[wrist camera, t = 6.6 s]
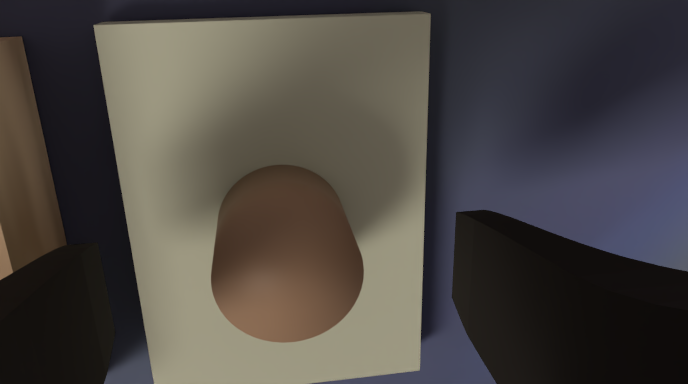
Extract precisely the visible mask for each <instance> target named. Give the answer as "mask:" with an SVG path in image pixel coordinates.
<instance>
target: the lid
mask: <svg viewBox="0 0 688 384" xmlns="http://www.w3.org/2000/svg"><path fill="white" fill-rule="evenodd" d="M430 23H431V14H430V13H426V12H421V11H416V12H386V13H356V14H326V15H296V16H266V17H236V18H206V19H176V20H146V21H116V22H101V23H98V24H95V25H93V26H94V32H95V38H96V44H97V50H98V56H99V61H100V67H101V73H102V79H103V85H104V91H105V97H106V103H107V109H108V115H109V120H110V126H111V132H112V138H113V144H114V150H115V156H116V162H117V168H118V174H119V179H120V185H121V191H122V197H123V203H124V209H125V215H126V221H127V227H128V233H129V238H130V244H131V250H132V256H133V262H134V268H135V274H136V280H137V286H138V292H139V297H140V303H141V309H142V315H143V321H144V327H145V333H146V339H147V345H148V350H149V356H150V362H151V368H152V374H153V380H154V384H309V383H317V382H326V381H334V380H343V379H351V378H359V377H368V376H376V375H385V374H393V373H402V372H410V371H419V370H420V344H421V312H422V280H423V248H424V216H425V183H426V151H427V119H428V87H429V55H430Z"/></svg>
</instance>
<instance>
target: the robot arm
mask: <svg viewBox="0 0 688 384" xmlns="http://www.w3.org/2000/svg"><path fill="white" fill-rule="evenodd" d="M452 299H453V301H454V304H455V306H456V309H457V311H458V314H459V316H460V319H461V321H462V323H463V326H464V328H465V330H466V333H467V335H468V337H469V338H470V340H471V342H472V344H473V345H474V347H475V349H476V350H477V352H478V354H479V355H480V357H481V359H482V360H483V362H484V364H485V365H486V367H487V369H488V370H489V372H490V373H491V375H492V377H493V378H494V380H495V382H496V383H497V384H688V272H687V271H682V270H677V269H672V268H667V267H662V266H658V265H654V264H650V263H646V262H642V261H638V260H634V259H630V258H626V257H622V256H619V255H615V254H612V253H609V252H606V251H603V250H599V249H596V248H593V247H590V246H587V245H584V244H581V243H578V242H575V241H573V240H570V239H567V238H564V237H561V236H559V235H556V234H553V233H551V232H548V231H545V230H543V229H540V228H538V227H535V226H532V225H530V224H527V223H525V222H522V221H519V220H517V219H514V218H511V217H508V216H505V215H502V214H499V213H496V212H492V211H488V210H477V211H465V212H456V226H455V246H454V267H453V287H452ZM114 337H115V328H114V323H113V318H112V313H111V308H110V303H109V298H108V293H107V288H106V282H105V277H104V272H103V267H102V262H101V257H100V252H99V247H98V243H86V244H74V245H64V246H62V247H59V248H57V249H54V250H52V251H50V252H48V253H46V254H45V255H43V256H41V257H39V258H37V259H36V260H34V261H32V262H30V263H29V264H27V265H25V266H24V267H22V268H20V269H18V270H17V271H15V272H13V273H12V274H10V275H8V276H6V277H5V278H3V279H1V280H0V384H104V381H105V378H106V375H107V371H108V366H109V362H110V357H111V352H112V347H113V342H114Z"/></svg>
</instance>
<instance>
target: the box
mask: <svg viewBox="0 0 688 384" xmlns="http://www.w3.org/2000/svg"><path fill="white" fill-rule="evenodd" d="M64 245H67V242H66V238H65V233H64V228H63V224H62V219H61V215H60V210H59V205H58V201H57V196H56V191H55V187H54V182H53V178H52V173H51V168H50V164H49V159H48V155H47V150H46V145H45V141H44V136H43V132H42V127H41V122H40V118H39V113H38V109H37V104H36V99H35V95H34V90H33V86H32V81H31V76H30V72H29V67H28V63H27V58H26V53H25V49H24V44H23V40H22V36H21V37H0V280H1V279H3V278H5V277H6V276H8V275H10V274H12V273H13V272H15V271H17V270H18V269H20V268H22V267H24V266H25V265H27V264H29V263H30V262H32V261H34V260H36V259H37V258H39V257H41V256H43V255H45V254H46V253H48V252H50V251H52V250H54V249H57V248H59V247H62V246H64Z"/></svg>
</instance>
